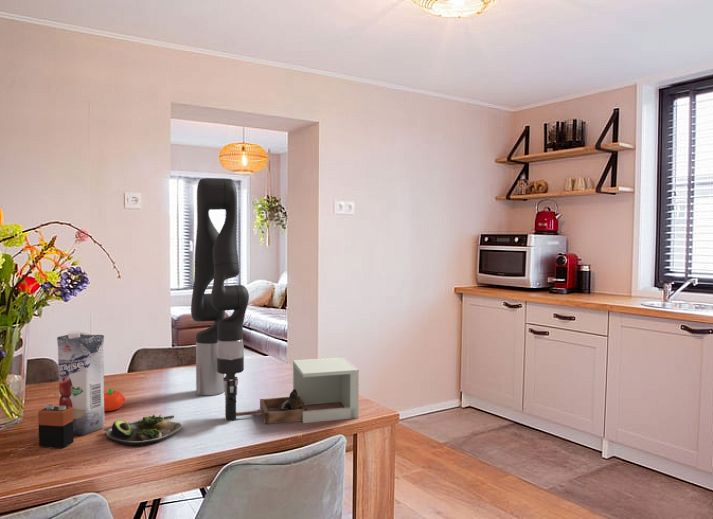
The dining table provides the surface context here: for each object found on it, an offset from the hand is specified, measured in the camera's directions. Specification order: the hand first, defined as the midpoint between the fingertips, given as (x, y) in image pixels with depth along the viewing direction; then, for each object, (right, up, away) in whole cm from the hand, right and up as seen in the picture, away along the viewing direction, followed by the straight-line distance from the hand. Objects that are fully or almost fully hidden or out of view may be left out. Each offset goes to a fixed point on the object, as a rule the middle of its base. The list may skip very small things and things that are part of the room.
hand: (230, 414), depth 156 cm
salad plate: (-21, -2, -12) cm, 24 cm away
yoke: (+9, -1, +3) cm, 10 cm away
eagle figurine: (+17, -1, +6) cm, 17 cm away
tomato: (-38, -1, +9) cm, 39 cm away
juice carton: (-38, -2, -9) cm, 39 cm away
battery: (-39, -2, -19) cm, 44 cm away
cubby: (+26, -1, +7) cm, 27 cm away
